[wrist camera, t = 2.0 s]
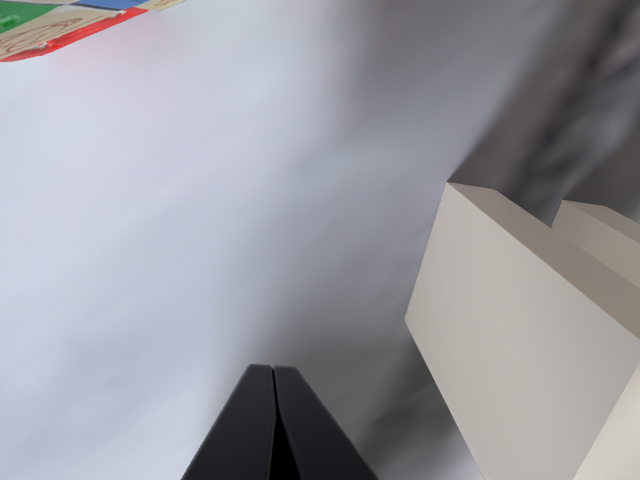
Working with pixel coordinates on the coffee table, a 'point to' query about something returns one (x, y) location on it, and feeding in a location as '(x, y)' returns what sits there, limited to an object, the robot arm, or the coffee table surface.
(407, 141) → the coffee table surface
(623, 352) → the domino
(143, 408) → the coffee table surface
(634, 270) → the domino
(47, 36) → the stack of blocks
